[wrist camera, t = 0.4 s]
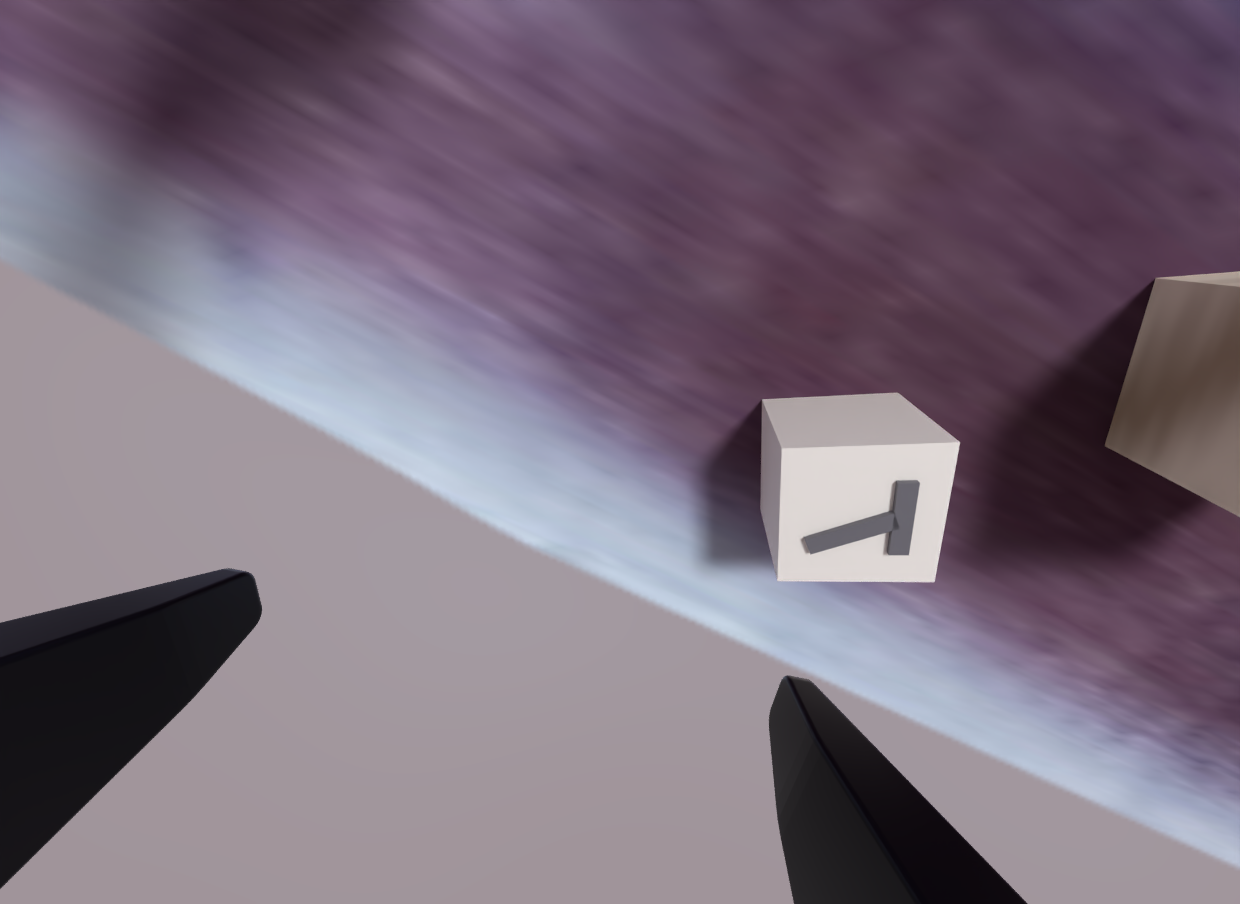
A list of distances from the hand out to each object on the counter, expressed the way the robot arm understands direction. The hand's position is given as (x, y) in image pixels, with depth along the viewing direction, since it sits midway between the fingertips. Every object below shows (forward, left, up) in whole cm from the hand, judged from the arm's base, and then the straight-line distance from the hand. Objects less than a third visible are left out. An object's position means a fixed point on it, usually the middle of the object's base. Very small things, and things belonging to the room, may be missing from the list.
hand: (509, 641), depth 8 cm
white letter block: (+3, +8, -14) cm, 16 cm away
